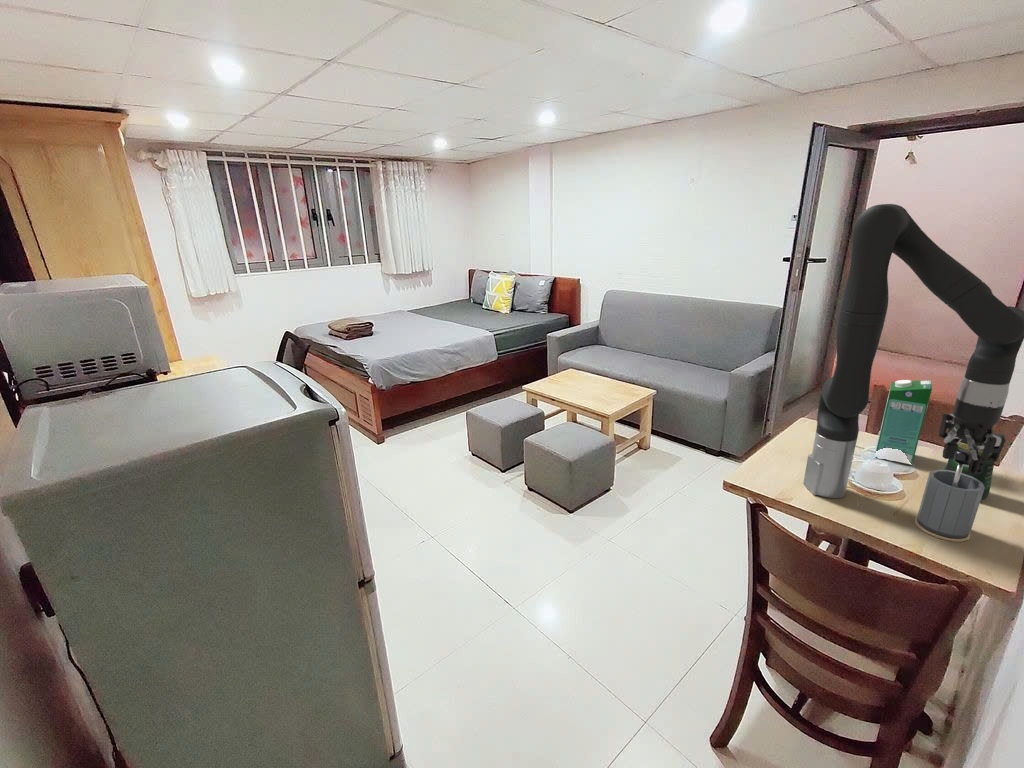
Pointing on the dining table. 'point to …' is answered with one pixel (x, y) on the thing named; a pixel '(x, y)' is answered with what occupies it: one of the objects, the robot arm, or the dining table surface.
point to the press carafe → (949, 506)
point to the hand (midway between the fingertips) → (960, 465)
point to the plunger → (961, 463)
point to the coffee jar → (952, 466)
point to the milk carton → (904, 416)
